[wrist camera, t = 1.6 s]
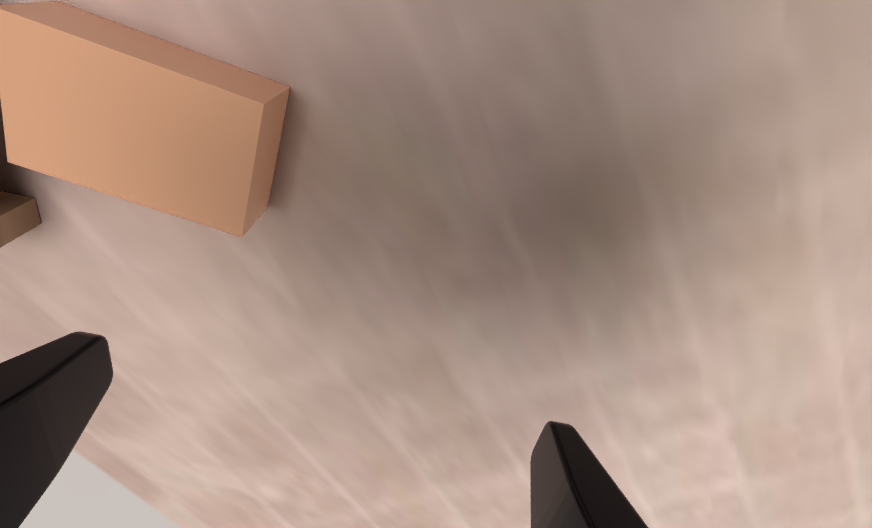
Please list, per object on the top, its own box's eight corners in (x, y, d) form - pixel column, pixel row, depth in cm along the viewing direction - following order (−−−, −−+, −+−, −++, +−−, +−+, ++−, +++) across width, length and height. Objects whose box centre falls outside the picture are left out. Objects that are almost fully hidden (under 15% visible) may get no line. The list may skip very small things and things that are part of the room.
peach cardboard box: (293, 85, 18) (263, 104, 15) (270, 203, 20) (241, 237, 18) (63, 0, 17) (-11, 5, 14) (69, 136, 19) (7, 162, 16)
